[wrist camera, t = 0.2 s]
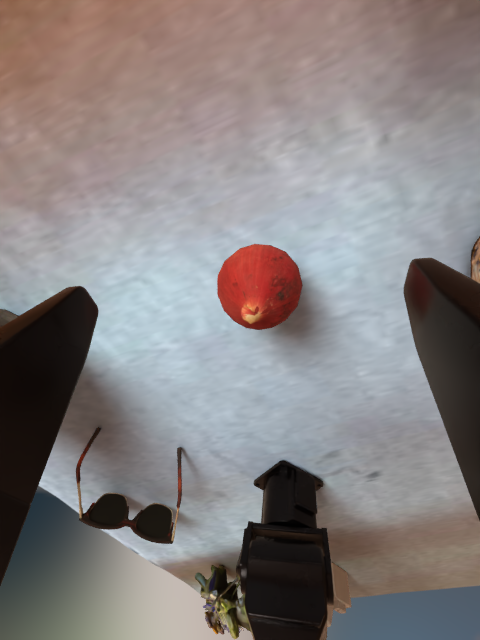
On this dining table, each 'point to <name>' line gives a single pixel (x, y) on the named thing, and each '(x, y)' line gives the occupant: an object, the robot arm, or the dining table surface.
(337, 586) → the lighter
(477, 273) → the wood slice pumpkin decoration
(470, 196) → the dining table surface
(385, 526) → the dining table surface
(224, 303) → the onion
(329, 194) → the dining table surface
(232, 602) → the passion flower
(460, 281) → the robot arm
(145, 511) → the sunglasses
